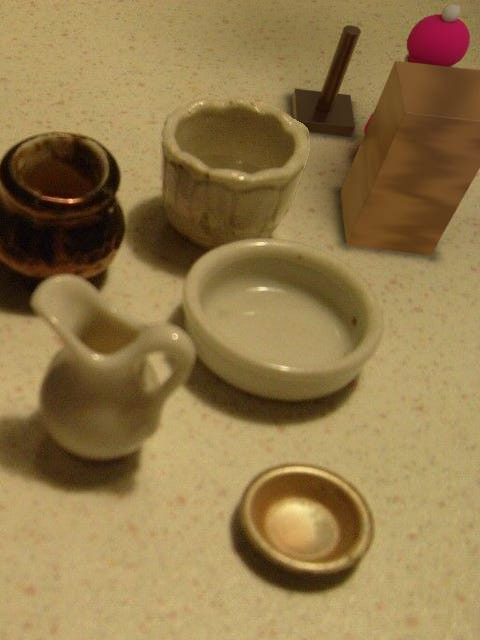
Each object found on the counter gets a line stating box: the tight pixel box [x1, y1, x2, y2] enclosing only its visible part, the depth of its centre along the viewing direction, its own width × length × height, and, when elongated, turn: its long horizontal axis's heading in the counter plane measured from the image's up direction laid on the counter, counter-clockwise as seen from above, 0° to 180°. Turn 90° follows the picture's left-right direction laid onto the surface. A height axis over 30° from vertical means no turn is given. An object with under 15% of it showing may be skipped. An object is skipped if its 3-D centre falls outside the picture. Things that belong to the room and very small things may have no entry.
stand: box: [291, 24, 362, 138], centre depth 104 cm, size 7×7×12 cm
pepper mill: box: [363, 3, 471, 136], centre depth 95 cm, size 7×7×20 cm
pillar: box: [340, 60, 480, 256], centre depth 89 cm, size 9×9×17 cm
